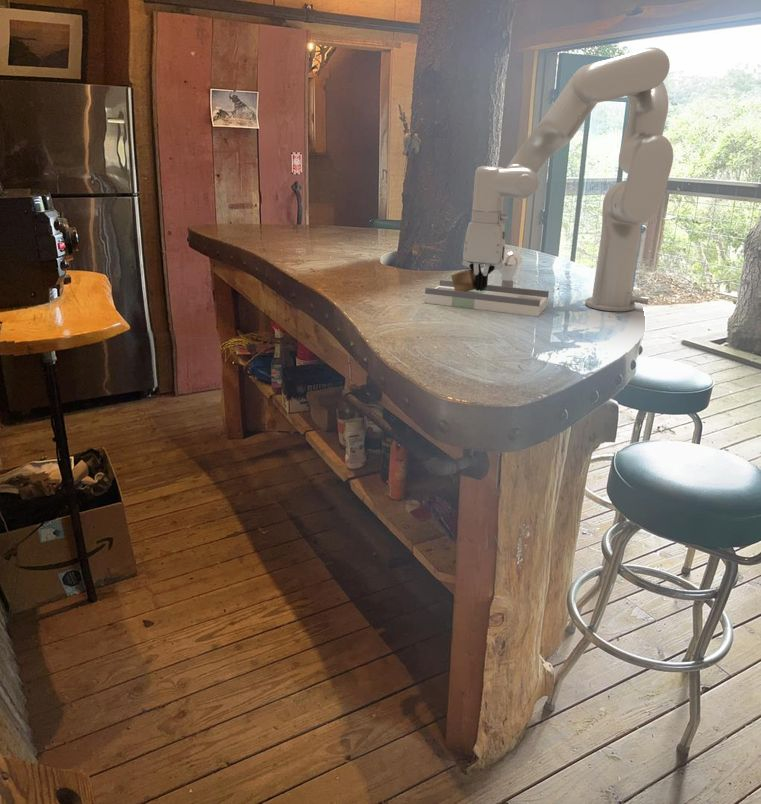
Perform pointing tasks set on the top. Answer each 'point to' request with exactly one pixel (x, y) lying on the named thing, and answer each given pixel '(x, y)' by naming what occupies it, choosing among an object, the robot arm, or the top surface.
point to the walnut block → (464, 280)
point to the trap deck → (490, 298)
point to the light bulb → (510, 267)
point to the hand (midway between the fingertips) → (480, 289)
